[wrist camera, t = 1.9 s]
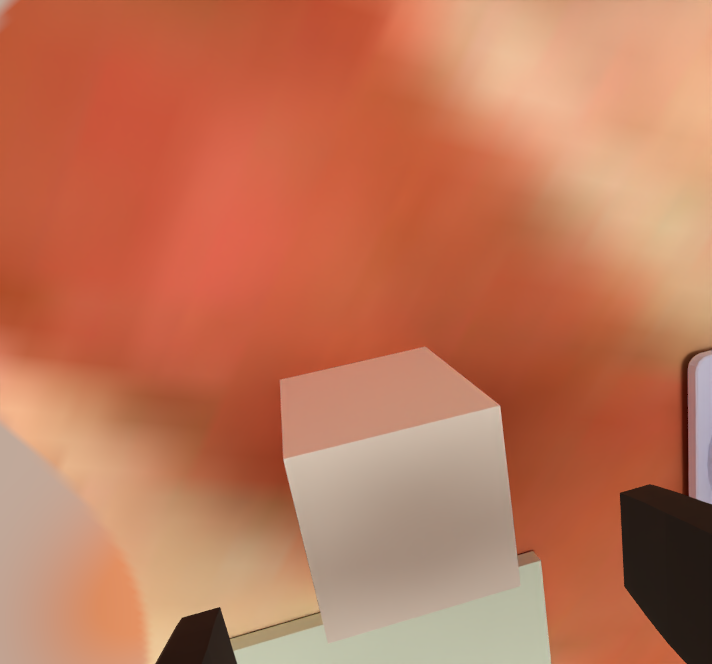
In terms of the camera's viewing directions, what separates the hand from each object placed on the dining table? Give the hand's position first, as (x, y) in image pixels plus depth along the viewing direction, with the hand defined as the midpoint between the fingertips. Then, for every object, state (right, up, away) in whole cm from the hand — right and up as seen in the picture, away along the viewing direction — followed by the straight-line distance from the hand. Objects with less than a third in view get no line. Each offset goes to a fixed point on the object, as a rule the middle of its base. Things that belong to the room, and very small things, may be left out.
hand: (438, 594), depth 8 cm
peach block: (-1, +1, +7) cm, 7 cm away
